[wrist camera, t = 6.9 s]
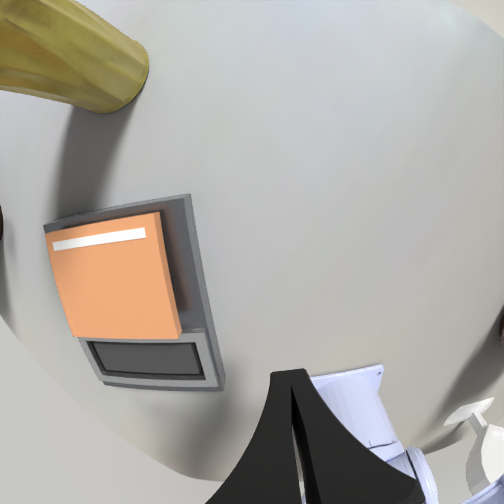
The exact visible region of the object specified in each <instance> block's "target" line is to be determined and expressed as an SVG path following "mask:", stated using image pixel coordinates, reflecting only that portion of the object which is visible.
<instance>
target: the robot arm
mask: <svg viewBox="0 0 504 504" xmlns="http://www.w3.org/2000/svg"><path fill="white" fill-rule="evenodd" d="M383 371H384V367H383V365H381V364H379V365H375V366H370V367H365V368H361V369H356V370H351V371H345V372H340V373H334V374H328V375H322V376H315V377H309V375H308V373H307V371H306V370H305V369H304V368H303V369H295V370H286V371H277V372H272V373H271V374H270V386H269V391H268V395H267V399H266V403H265V406H264V409H263V412H262V415H261V418H260V420H259V423H258V425H257V428H256V430H255V432H254V435H253V437H252V439H251V441H250V443H249V445H248V447H247V448H246V450H245V452H244V454H243V455H242V457H241V459H240V460H239V462H238V464H237V465H236V467H235V468H234V470H233V471H232V472H231V474H230V475H229V476H228V478H227V479H226V480H225V482H224V483H223V484H222V485H221V487H220V488H219V489H218V490H217V492H216V493H215V494H214V495H213V496H212V497H211V498H210V499H209V500H208V501H207V502H206V503H205V504H439V503H438V499H437V497H438V492H437V488H436V484H435V481H434V478H433V475H432V472H431V470H430V467H429V465H428V463H427V460H426V458H425V456H424V454H423V453H422V451H421V450H420V449H419V448H414V447H413V446H410V447H408V448H406V453H407V455H406V453H405V451H404V448H403V446H402V443H401V441H398V438H397V436H396V434H395V431H394V429H393V426H392V424H391V422H390V419H389V417H388V415H387V412H386V410H385V408H384V405H383V403H382V401H381V399H380V396H379V394H378V390H379V386H380V382H381V379H382V375H383ZM292 426H293V430H294V435H295V439H296V443H297V448H298V452H299V457H300V461H301V466H302V471H303V479H304V488H305V493H304V494H303V496H302V499H301V493H300V487H299V480H298V473H297V466H296V459H295V452H294V445H293V437H292ZM407 456H408V458H407ZM461 504H504V474H503V475H501V477H500V478H499V479H497V480H496V481H494V482H493V483H492V484H490V485H489V486H487V487H486V488H484V489H483V490H481V491H480V492H478V493H477V494H475V495H474V496H472V497H471V498H469V499H467V500H466V501H464V502H462V503H461Z"/></svg>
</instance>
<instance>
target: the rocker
mask: <svg viewBox="0 0 504 504" xmlns="http://www.w3.org/2000/svg"><path fill="white" fill-rule="evenodd" d="M45 237H46V242H47V247H48V252H49V256H50V261H51V265H52V269H53V273H54V277H55V281H56V285H57V288H58V292H59V295H60V299H61V302H62V305H63V308H64V311H65V314H66V317H67V320H68V323H69V326H70V329H71V332H72V334H73V337H89V338H112V339H179V337H180V335H181V332H182V329H181V325H180V321H179V316H178V312H177V307H176V303H175V298H174V293H173V288H172V284H171V278H170V273H169V268H168V263H167V257H166V251H165V246H164V239H163V233H162V227H161V220H160V213H159V212H156V213H149V214H143V215H137V216H131V217H125V218H119V219H113V220H108V221H102V222H97V223H92V224H87V225H81V226H76V227H72V228H67V229H62V230H57V231H53V232H50V233H46V234H45Z"/></svg>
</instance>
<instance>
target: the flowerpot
mask: <svg viewBox="0 0 504 504" xmlns="http://www.w3.org/2000/svg"><path fill="white" fill-rule="evenodd" d="M500 336H501V343H502V346H503V349H504V317H503V319H502V322H501V326H500Z"/></svg>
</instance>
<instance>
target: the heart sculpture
mask: <svg viewBox="0 0 504 504" xmlns="http://www.w3.org/2000/svg"><path fill="white" fill-rule="evenodd" d="M493 399H494V397H493V398H489V399H486V400H482V401H479V402H475V403H471V404H467V405H463V406H460V407H459V408H458V409H457V410H455V411H454V412H453V413H452V414H451V415H450V416H449V417H448V418H447V420H446V421H445V423H444V426H448V425H451V424H455V423H458V422H462V421H465V420H469V422H470V424H471V425H472V427H473V429H474V430H475V432H476V434H477V435H478V437H477V438H476V441H475V444H474V446H473V448H472V450H471V451H470V454H469V457H468V460H467V463H466V479H467V483H468V486H469V490H470V492H471V493H472V495H473V496H474V495H475V494H477V493H478V492H480V491H481V490H483V489H484V488H486V487H487V486H489V485H490V484H492V483H493V482H494V481H496V480H497V479H499V478H500V477H501V475H503V474H504V428H502V427H498V426H494V425H491V424H489V425H487V423H486V422H485V420H484V419H483V417H482V416H481V414H482V413H483V412H484V411H485V410H486V409H487V408H488V407H489V406H490V404H491V403H492V401H493ZM444 426H443V427H444Z"/></svg>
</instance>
